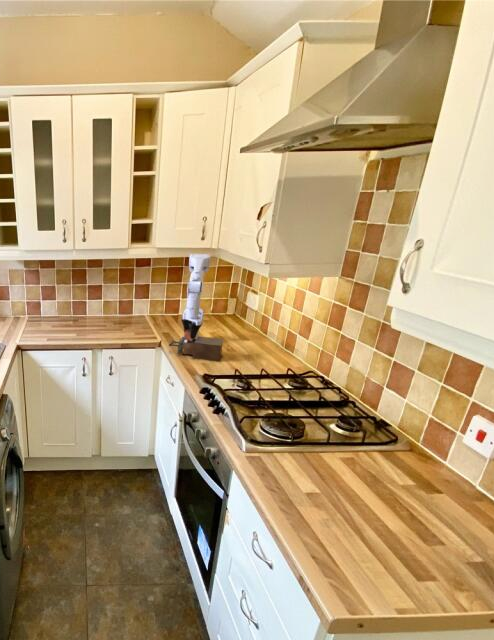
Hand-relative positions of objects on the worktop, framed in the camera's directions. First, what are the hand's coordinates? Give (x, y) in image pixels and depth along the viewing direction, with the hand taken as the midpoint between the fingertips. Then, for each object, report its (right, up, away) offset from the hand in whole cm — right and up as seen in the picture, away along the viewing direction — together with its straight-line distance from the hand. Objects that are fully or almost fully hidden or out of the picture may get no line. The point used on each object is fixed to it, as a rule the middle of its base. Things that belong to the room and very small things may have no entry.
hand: (189, 336), depth 193 cm
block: (0, -1, +1) cm, 1 cm away
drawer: (-1, -7, +4) cm, 8 cm away
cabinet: (+8, -9, 0) cm, 13 cm away
